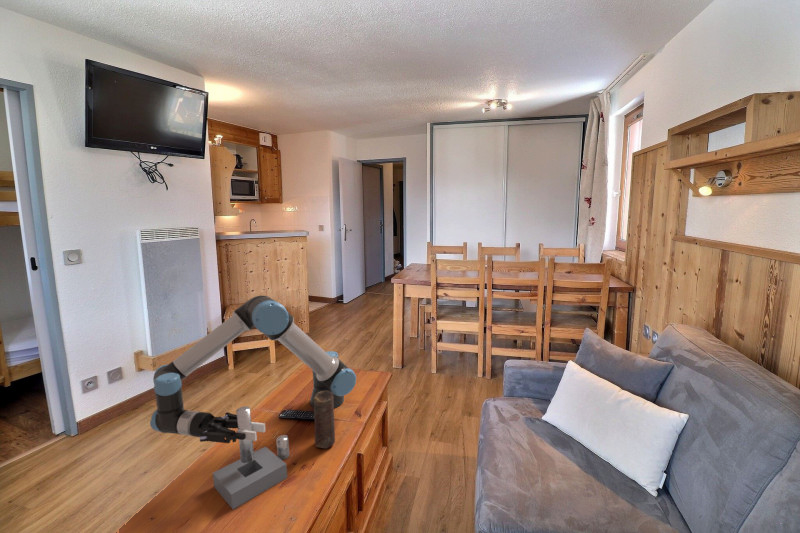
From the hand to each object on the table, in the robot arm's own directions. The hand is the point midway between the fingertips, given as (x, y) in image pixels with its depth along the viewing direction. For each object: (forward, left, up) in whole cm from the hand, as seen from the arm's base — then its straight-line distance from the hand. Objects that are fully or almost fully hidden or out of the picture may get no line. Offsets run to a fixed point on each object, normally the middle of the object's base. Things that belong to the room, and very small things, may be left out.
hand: (260, 432), depth 120 cm
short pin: (-12, -9, -19) cm, 24 cm away
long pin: (+3, -5, -10) cm, 11 cm away
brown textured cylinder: (-26, -3, -19) cm, 32 cm away
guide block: (+2, -5, -19) cm, 19 cm away
